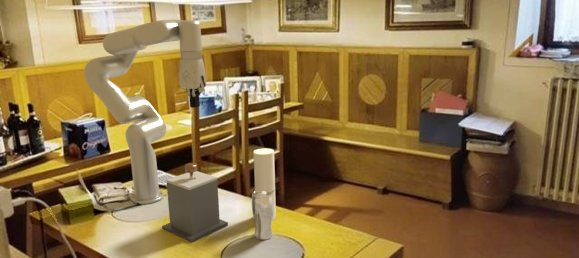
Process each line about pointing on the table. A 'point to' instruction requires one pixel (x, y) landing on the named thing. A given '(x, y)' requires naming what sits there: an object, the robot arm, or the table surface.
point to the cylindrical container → (265, 173)
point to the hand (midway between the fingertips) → (195, 106)
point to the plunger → (191, 169)
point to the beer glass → (262, 213)
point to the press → (193, 206)
